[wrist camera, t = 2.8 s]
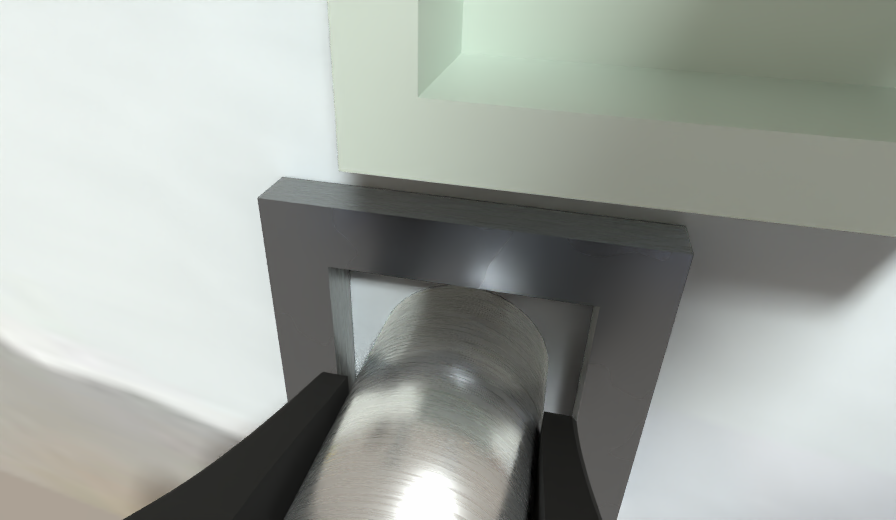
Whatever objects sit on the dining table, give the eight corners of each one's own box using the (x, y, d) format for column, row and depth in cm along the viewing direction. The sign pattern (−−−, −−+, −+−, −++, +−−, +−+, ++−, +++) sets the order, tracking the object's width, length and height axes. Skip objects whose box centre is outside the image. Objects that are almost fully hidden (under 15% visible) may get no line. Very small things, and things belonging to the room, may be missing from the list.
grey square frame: (685, 226, 12) (693, 254, 11) (609, 504, 17) (610, 541, 16) (282, 176, 14) (257, 197, 13) (315, 444, 18) (298, 475, 17)
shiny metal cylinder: (558, 300, 14) (528, 621, 7) (537, 431, 16) (501, 761, 10) (379, 273, 14) (216, 545, 8) (383, 403, 17) (258, 693, 10)
